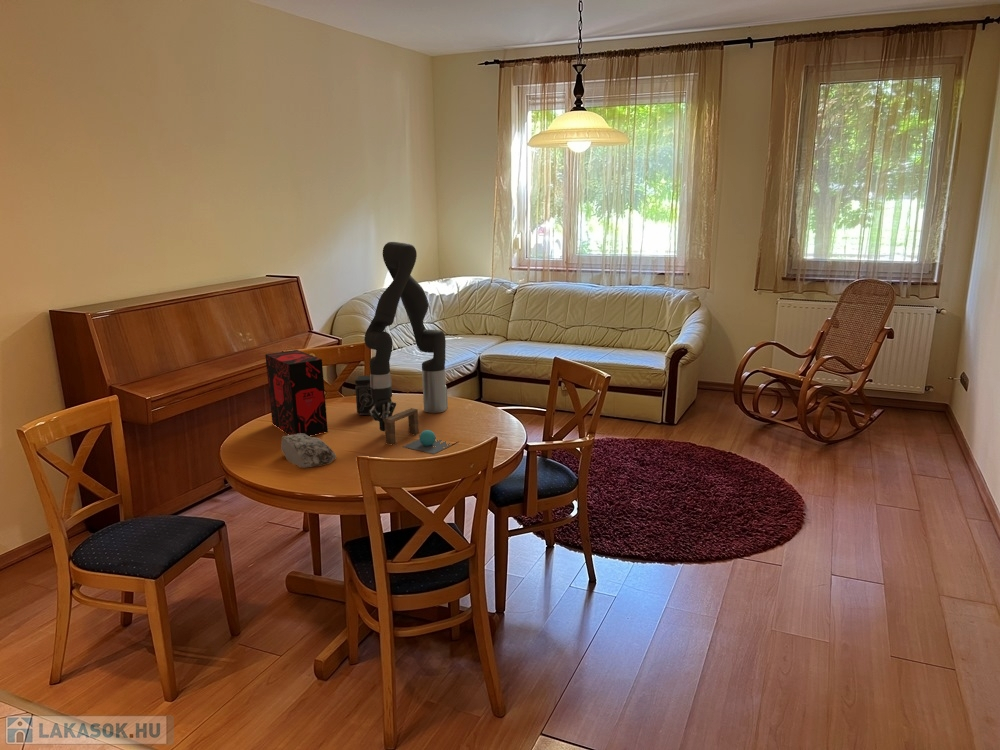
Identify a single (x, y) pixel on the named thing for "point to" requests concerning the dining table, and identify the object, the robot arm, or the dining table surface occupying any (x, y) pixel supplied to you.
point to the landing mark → (429, 449)
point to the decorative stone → (306, 450)
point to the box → (297, 392)
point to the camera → (363, 395)
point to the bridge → (390, 421)
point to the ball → (427, 438)
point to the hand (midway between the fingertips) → (383, 430)
